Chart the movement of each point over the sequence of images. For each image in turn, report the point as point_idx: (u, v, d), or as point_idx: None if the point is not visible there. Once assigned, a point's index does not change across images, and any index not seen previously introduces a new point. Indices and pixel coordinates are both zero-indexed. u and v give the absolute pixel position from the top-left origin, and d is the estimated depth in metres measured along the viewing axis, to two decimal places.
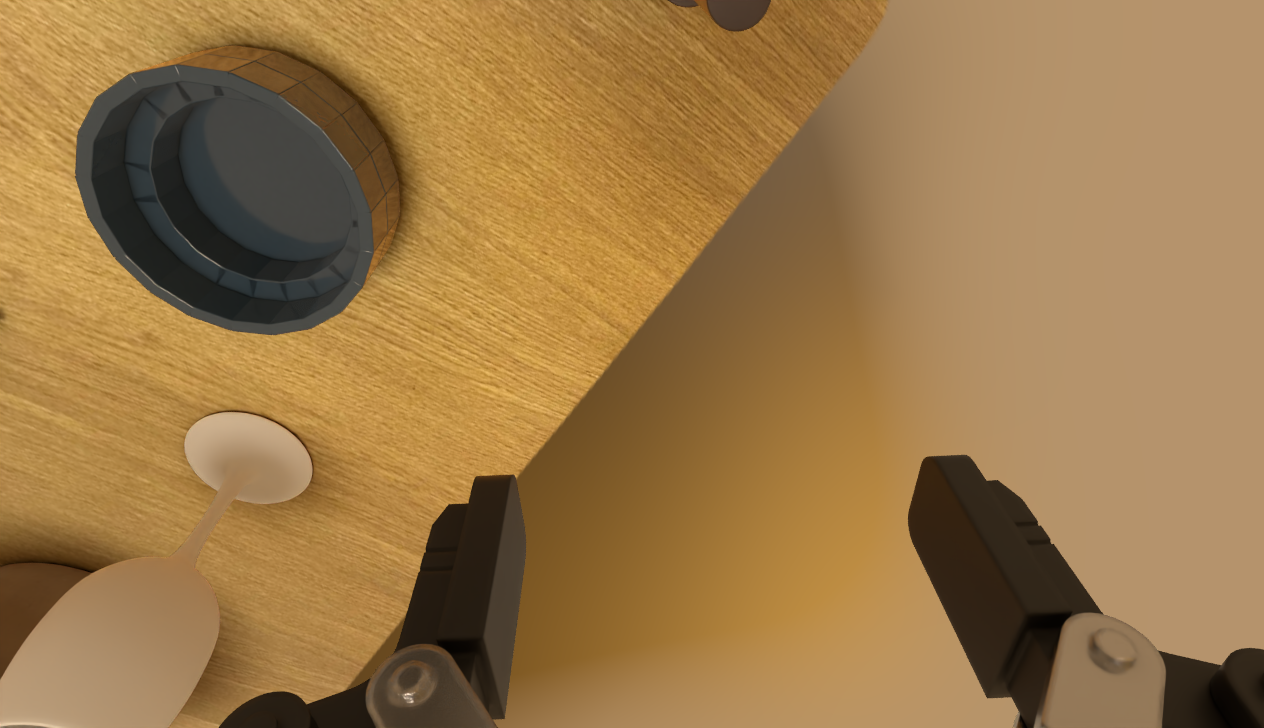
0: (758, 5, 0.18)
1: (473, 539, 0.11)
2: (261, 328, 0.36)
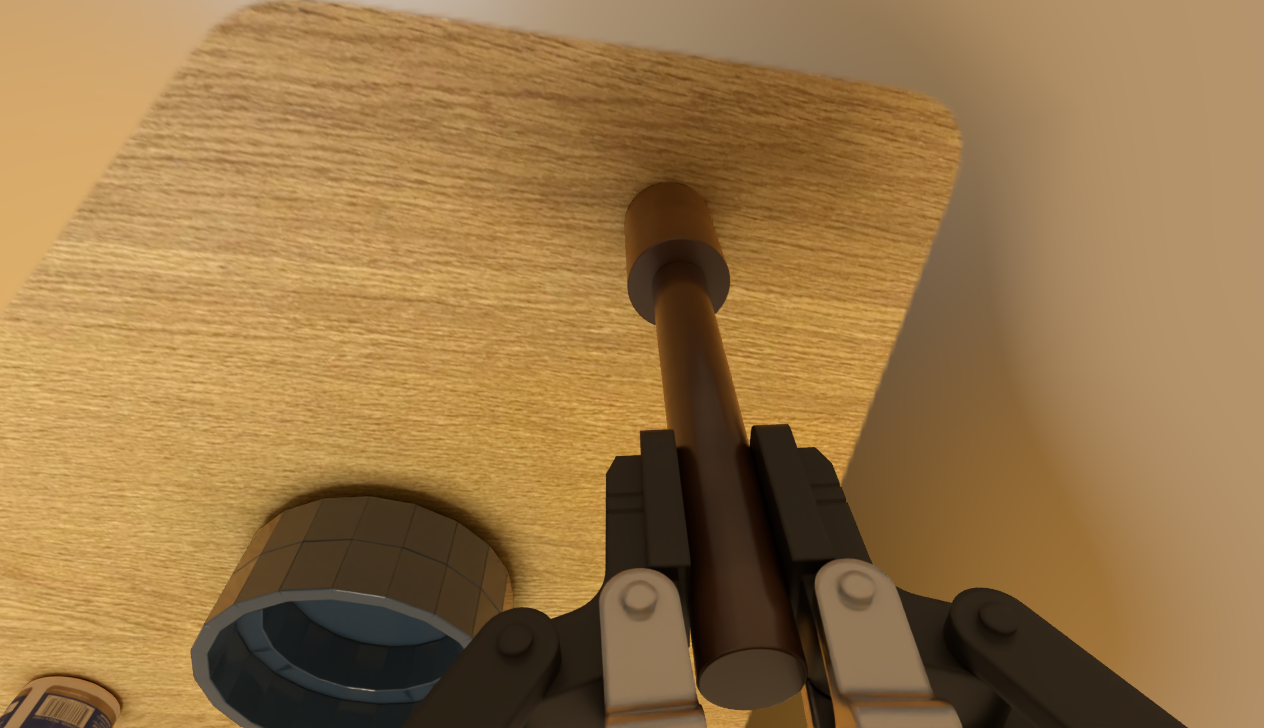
0: (790, 676, 0.10)
1: (656, 483, 0.12)
2: None
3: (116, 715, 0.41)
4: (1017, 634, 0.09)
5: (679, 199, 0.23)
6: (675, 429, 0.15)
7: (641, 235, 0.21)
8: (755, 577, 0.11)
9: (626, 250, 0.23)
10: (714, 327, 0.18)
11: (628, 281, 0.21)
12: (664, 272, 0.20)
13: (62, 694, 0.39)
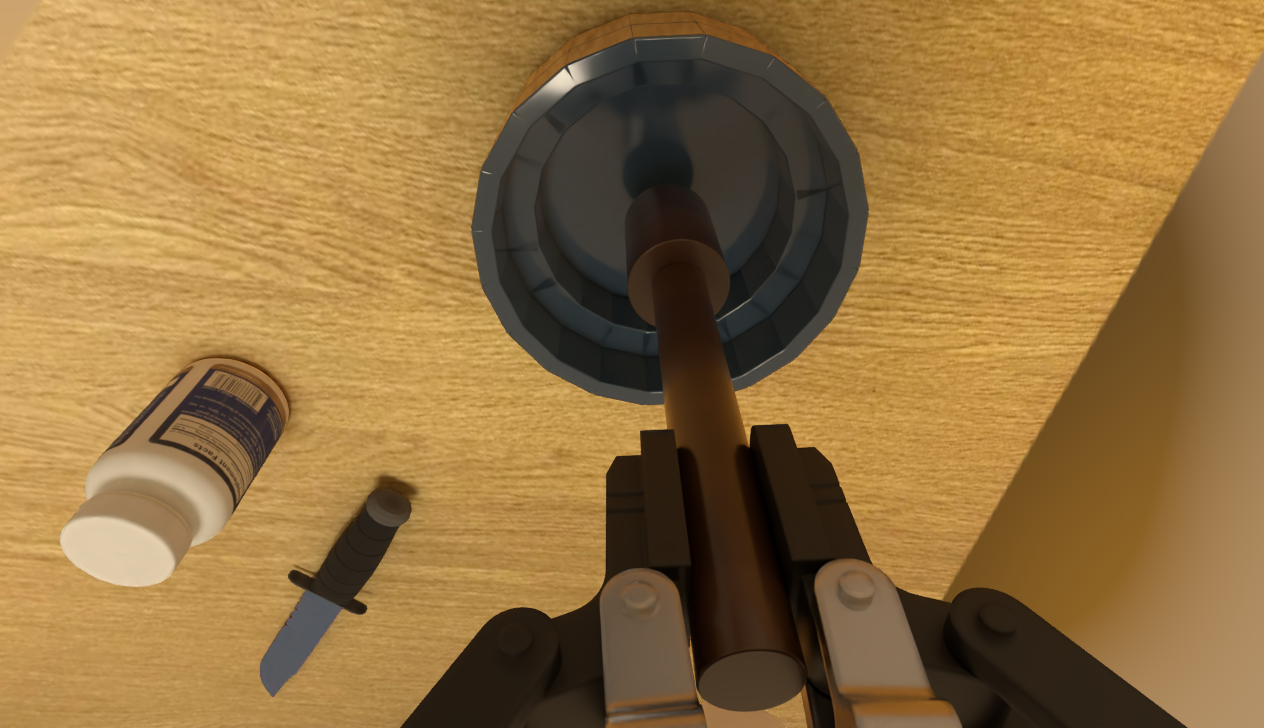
0: (789, 678, 0.10)
1: (656, 483, 0.12)
2: (734, 383, 0.27)
3: (286, 419, 0.34)
4: (1017, 634, 0.09)
5: (679, 200, 0.23)
6: (675, 430, 0.15)
7: (641, 236, 0.22)
8: (755, 579, 0.11)
9: (626, 251, 0.23)
10: (714, 329, 0.18)
11: (628, 282, 0.21)
12: (664, 273, 0.20)
13: (231, 372, 0.31)
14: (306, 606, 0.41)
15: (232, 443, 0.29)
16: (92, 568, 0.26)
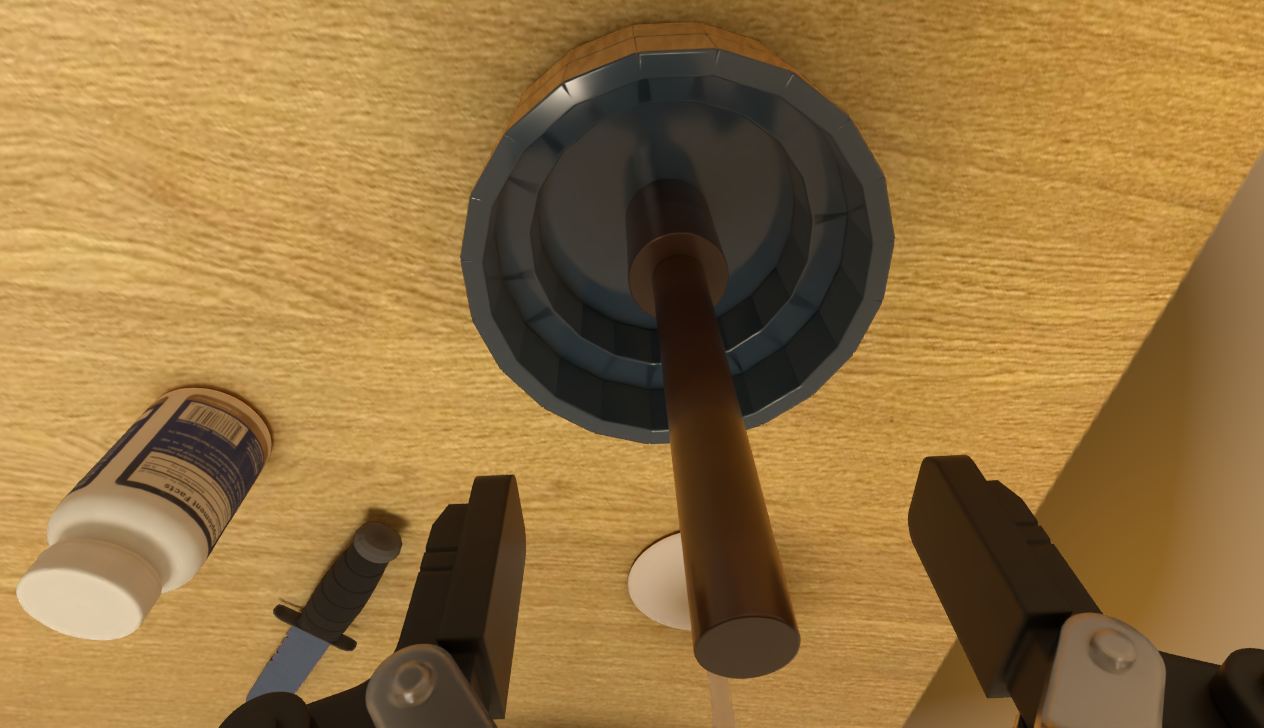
0: (783, 645, 0.11)
1: (473, 539, 0.11)
2: (745, 421, 0.25)
3: (268, 451, 0.32)
4: None
5: (679, 195, 0.23)
6: (674, 414, 0.15)
7: (641, 230, 0.22)
8: (750, 551, 0.11)
9: (627, 245, 0.23)
10: (713, 318, 0.18)
11: (629, 275, 0.21)
12: (664, 266, 0.21)
13: (208, 403, 0.29)
14: (292, 641, 0.40)
15: (207, 482, 0.27)
16: (52, 621, 0.24)
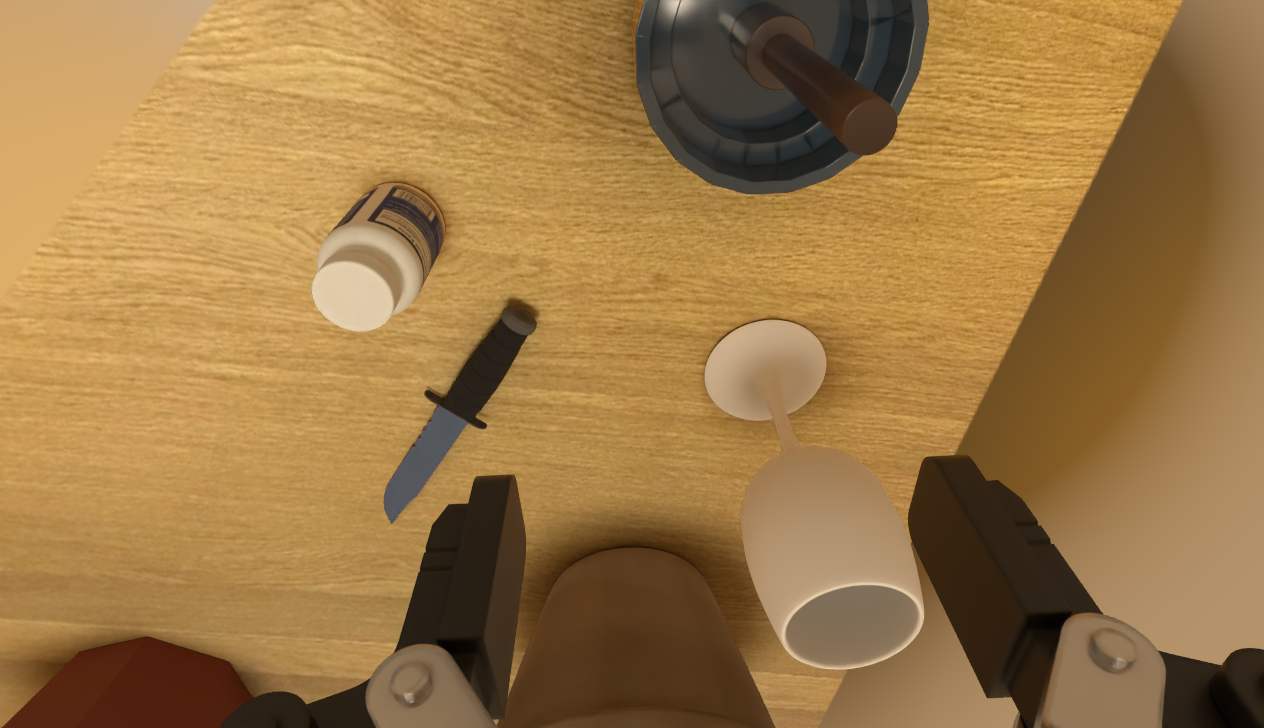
0: (888, 126, 0.21)
1: (473, 539, 0.11)
2: (819, 174, 0.35)
3: (443, 239, 0.42)
4: None
5: (775, 7, 0.33)
6: (804, 76, 0.25)
7: (753, 23, 0.32)
8: (868, 90, 0.21)
9: (739, 41, 0.33)
10: None
11: (747, 50, 0.31)
12: (773, 39, 0.31)
13: (409, 191, 0.39)
14: (435, 425, 0.49)
15: (420, 235, 0.37)
16: (330, 312, 0.34)
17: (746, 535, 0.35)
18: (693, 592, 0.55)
